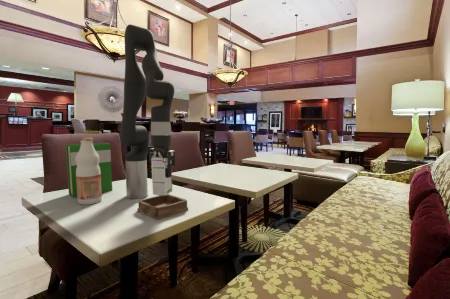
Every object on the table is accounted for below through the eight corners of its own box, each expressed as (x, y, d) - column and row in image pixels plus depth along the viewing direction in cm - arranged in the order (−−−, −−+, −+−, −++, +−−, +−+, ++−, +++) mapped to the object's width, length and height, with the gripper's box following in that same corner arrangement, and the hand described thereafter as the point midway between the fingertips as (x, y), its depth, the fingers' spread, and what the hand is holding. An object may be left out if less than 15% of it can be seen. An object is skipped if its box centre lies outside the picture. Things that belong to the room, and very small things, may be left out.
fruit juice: (72, 204, 106) (68, 138, 103) (89, 197, 115) (85, 137, 112) (91, 206, 104) (87, 138, 101) (106, 199, 113) (103, 137, 110)
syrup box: (166, 195, 95) (165, 158, 93) (152, 194, 96) (151, 157, 95) (172, 191, 101) (171, 156, 99) (158, 190, 102) (158, 155, 100)
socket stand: (137, 210, 99) (137, 200, 98) (167, 202, 109) (167, 193, 108) (157, 220, 89) (157, 209, 89) (188, 209, 100) (188, 200, 99)
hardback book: (73, 197, 115) (69, 146, 113) (68, 194, 121) (65, 144, 118) (112, 190, 128) (110, 143, 125) (106, 187, 133) (104, 142, 130)
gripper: (142, 133, 98) (143, 174, 100) (163, 134, 88) (164, 180, 90) (158, 133, 103) (159, 172, 105) (180, 134, 94) (181, 177, 96)
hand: (162, 175), depth 98 cm, fingers closed on syrup box, 7 cm apart
